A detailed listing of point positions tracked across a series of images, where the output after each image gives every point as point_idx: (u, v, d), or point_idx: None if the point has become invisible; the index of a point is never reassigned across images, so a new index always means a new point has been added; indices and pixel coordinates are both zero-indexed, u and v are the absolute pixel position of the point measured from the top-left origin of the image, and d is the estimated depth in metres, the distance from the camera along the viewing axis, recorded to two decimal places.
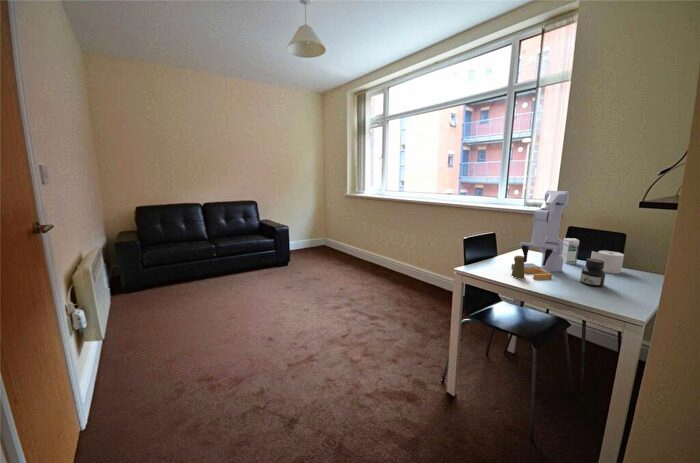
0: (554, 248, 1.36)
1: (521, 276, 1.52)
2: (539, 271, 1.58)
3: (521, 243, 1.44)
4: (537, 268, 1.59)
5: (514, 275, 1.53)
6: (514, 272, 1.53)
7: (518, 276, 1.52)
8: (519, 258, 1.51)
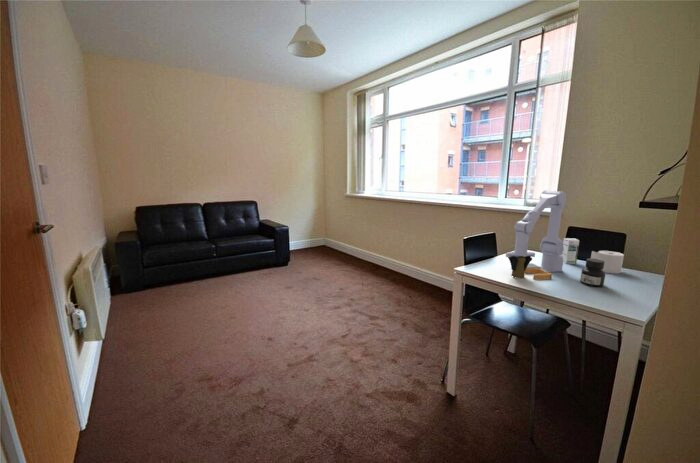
0: (534, 254, 1.52)
1: (521, 276, 1.52)
2: (539, 271, 1.58)
3: (509, 254, 1.51)
4: (537, 268, 1.59)
5: (514, 275, 1.53)
6: (514, 272, 1.53)
7: (518, 276, 1.52)
8: (519, 258, 1.51)
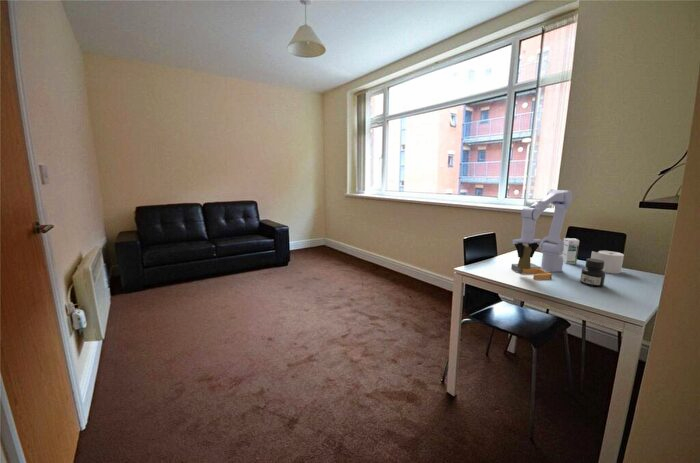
0: (541, 241, 1.51)
1: (527, 267, 1.51)
2: (539, 271, 1.58)
3: (515, 241, 1.50)
4: (537, 268, 1.59)
5: (520, 266, 1.52)
6: (520, 263, 1.53)
7: (524, 267, 1.51)
8: (525, 248, 1.50)
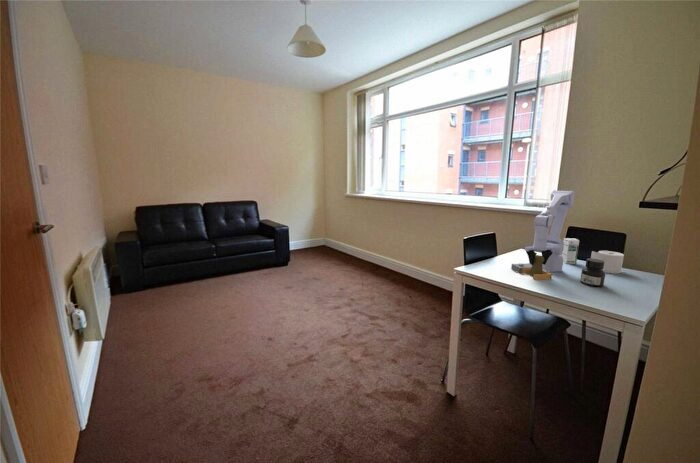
0: (553, 248, 1.52)
1: None
2: None
3: (528, 248, 1.51)
4: None
5: (532, 274, 1.54)
6: (532, 271, 1.54)
7: None
8: (537, 257, 1.52)
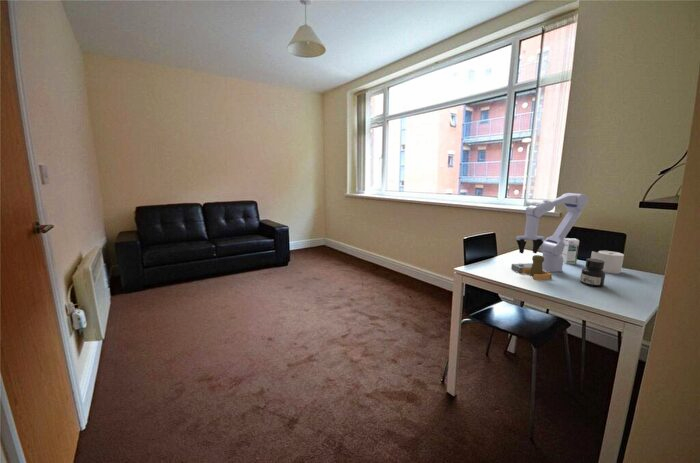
0: (543, 237, 1.58)
1: None
2: None
3: (519, 237, 1.57)
4: None
5: (532, 274, 1.54)
6: (532, 271, 1.54)
7: None
8: (537, 258, 1.52)
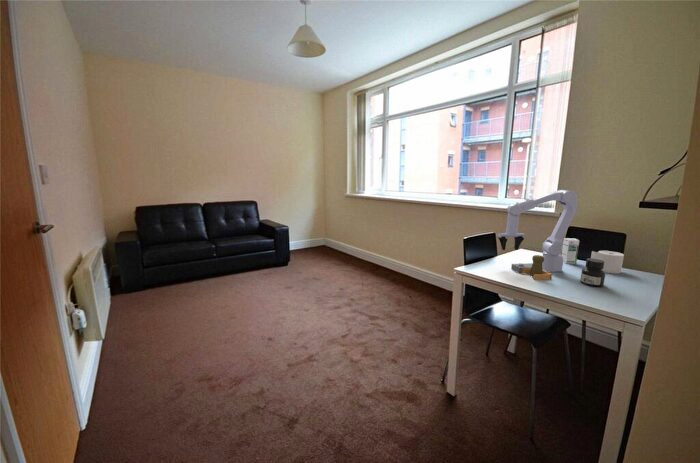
0: (524, 234, 1.65)
1: None
2: None
3: (501, 235, 1.64)
4: None
5: (532, 274, 1.54)
6: (532, 271, 1.54)
7: None
8: (537, 257, 1.52)
